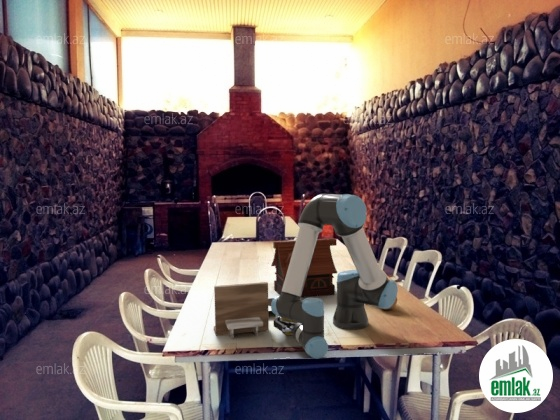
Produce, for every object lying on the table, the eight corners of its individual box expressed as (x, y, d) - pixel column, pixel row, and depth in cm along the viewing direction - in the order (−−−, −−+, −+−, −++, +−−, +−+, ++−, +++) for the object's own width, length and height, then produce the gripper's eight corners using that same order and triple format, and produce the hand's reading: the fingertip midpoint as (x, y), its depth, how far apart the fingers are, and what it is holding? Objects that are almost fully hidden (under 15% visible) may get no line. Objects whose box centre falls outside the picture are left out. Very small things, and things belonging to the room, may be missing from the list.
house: (280, 302, 228) (280, 245, 225) (268, 288, 255) (268, 237, 253) (344, 296, 236) (345, 242, 234) (326, 283, 264) (326, 235, 261)
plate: (260, 298, 236) (260, 291, 236) (303, 307, 218) (303, 300, 218) (221, 311, 214) (221, 303, 214) (265, 323, 197) (265, 314, 196)
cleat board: (272, 335, 181) (272, 287, 179) (218, 341, 175) (217, 291, 173) (264, 323, 195) (263, 278, 193) (213, 328, 189) (212, 282, 188)
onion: (382, 313, 208) (382, 292, 207) (372, 307, 217) (372, 287, 216) (401, 311, 210) (401, 290, 209) (390, 305, 220) (390, 285, 219)
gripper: (276, 347, 163) (262, 326, 185) (332, 340, 169) (312, 321, 191) (276, 327, 163) (262, 308, 184) (332, 321, 168) (312, 304, 190)
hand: (287, 315), depth 188 cm, fingers closed on flower pot, 9 cm apart
